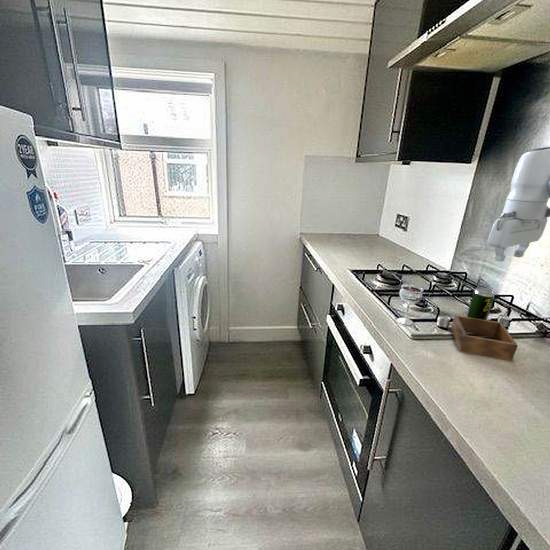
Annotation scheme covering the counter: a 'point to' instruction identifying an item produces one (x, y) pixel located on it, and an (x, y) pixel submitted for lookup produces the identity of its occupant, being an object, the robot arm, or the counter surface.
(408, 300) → the wineglass
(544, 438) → the counter surface
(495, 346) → the brown wooden open box
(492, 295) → the beer can
